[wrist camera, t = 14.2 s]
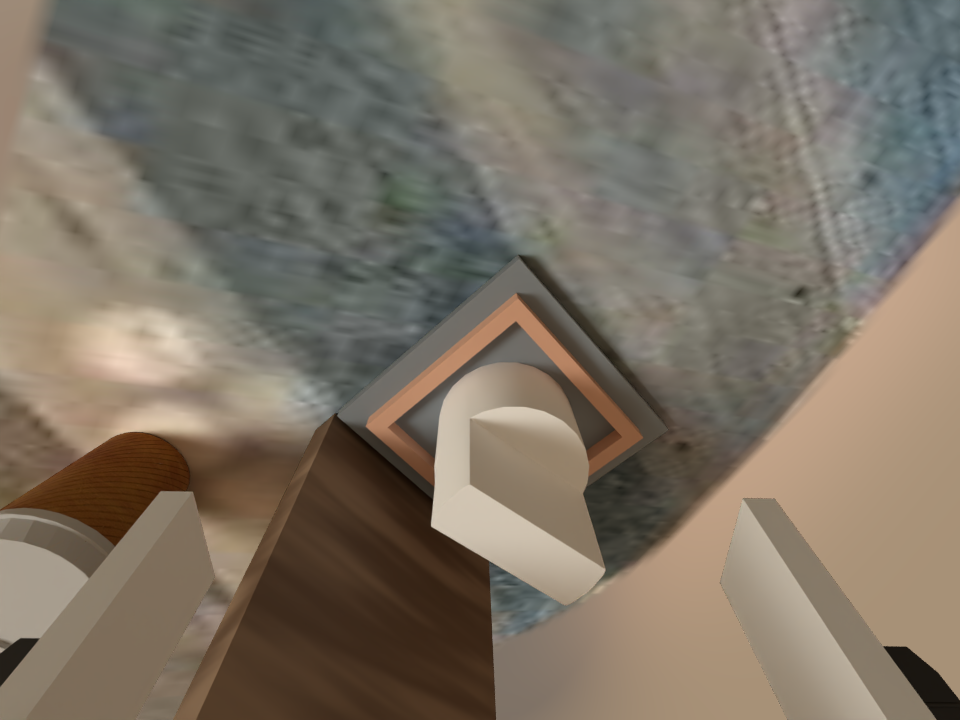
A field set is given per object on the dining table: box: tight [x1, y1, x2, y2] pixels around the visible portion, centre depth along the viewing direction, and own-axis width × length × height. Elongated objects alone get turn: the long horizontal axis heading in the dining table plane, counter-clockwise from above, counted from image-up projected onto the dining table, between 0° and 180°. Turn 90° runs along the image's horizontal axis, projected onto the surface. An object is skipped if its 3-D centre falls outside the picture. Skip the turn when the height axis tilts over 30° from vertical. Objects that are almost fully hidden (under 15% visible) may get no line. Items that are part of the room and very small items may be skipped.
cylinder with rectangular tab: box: [431, 362, 606, 606], centre depth 32 cm, size 9×9×12 cm
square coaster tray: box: [337, 255, 668, 499], centre depth 37 cm, size 16×16×2 cm
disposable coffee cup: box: [0, 432, 190, 653], centre depth 34 cm, size 10×10×12 cm
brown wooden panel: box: [173, 413, 496, 720], centre depth 26 cm, size 4×16×32 cm, turn 42°
